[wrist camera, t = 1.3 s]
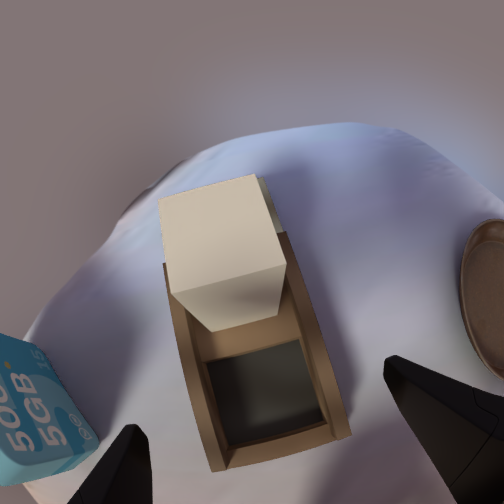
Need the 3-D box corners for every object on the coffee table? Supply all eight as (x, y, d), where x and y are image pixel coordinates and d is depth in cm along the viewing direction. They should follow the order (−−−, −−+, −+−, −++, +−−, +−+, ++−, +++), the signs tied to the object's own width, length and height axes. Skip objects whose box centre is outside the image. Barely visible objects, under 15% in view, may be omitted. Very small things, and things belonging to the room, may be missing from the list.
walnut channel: (342, 430, 19) (357, 439, 15) (219, 463, 18) (210, 479, 15) (263, 189, 29) (262, 162, 25) (164, 215, 28) (151, 191, 24)
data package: (106, 445, 19) (11, 467, 8) (80, 467, 18) (-10, 489, 7) (41, 344, 23) (-49, 312, 12) (20, 369, 21) (-67, 346, 10)
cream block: (277, 315, 21) (286, 263, 12) (211, 332, 21) (171, 293, 12) (259, 255, 23) (255, 173, 14) (198, 271, 23) (157, 199, 14)
